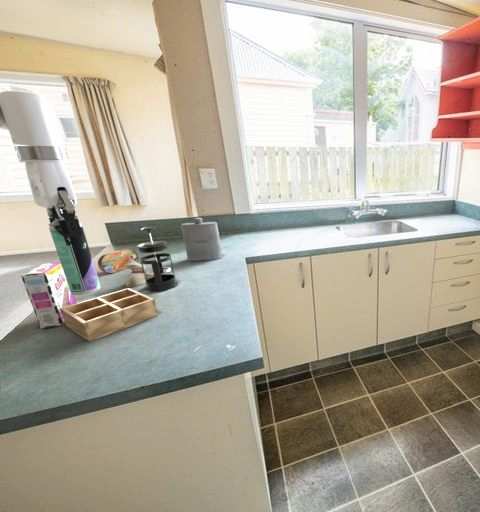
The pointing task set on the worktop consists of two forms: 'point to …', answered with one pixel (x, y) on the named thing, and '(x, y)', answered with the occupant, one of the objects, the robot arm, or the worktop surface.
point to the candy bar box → (48, 293)
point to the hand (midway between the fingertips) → (68, 233)
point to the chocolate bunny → (135, 274)
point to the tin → (117, 260)
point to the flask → (201, 240)
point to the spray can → (75, 260)
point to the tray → (108, 313)
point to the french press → (157, 265)
